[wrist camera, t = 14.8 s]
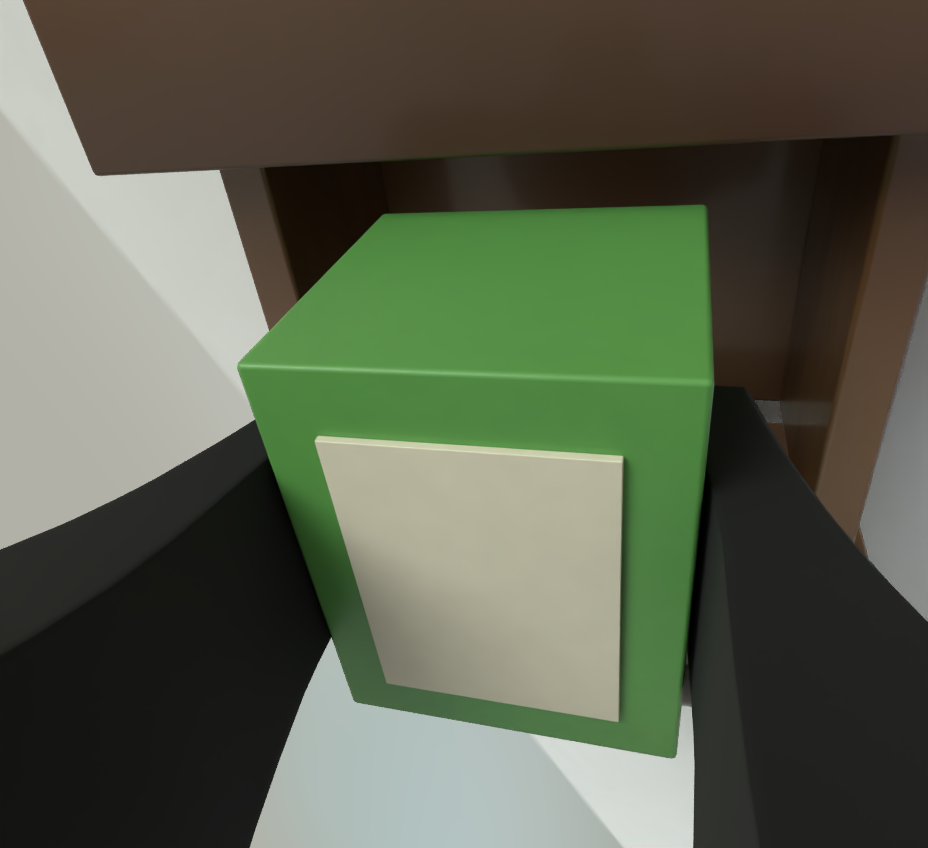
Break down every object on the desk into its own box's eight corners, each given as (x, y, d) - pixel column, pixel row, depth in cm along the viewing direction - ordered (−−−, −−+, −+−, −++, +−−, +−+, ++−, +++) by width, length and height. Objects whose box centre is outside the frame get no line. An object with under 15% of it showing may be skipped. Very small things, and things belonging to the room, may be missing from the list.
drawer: (796, 598, 20) (824, 796, 16) (423, 555, 23) (358, 711, 19) (997, -294, 10) (1249, -452, 5) (271, -155, 13) (46, -180, 8)
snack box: (707, 202, 9) (715, 388, 6) (681, 527, 12) (675, 769, 9) (382, 212, 10) (228, 369, 7) (436, 505, 13) (350, 710, 10)
